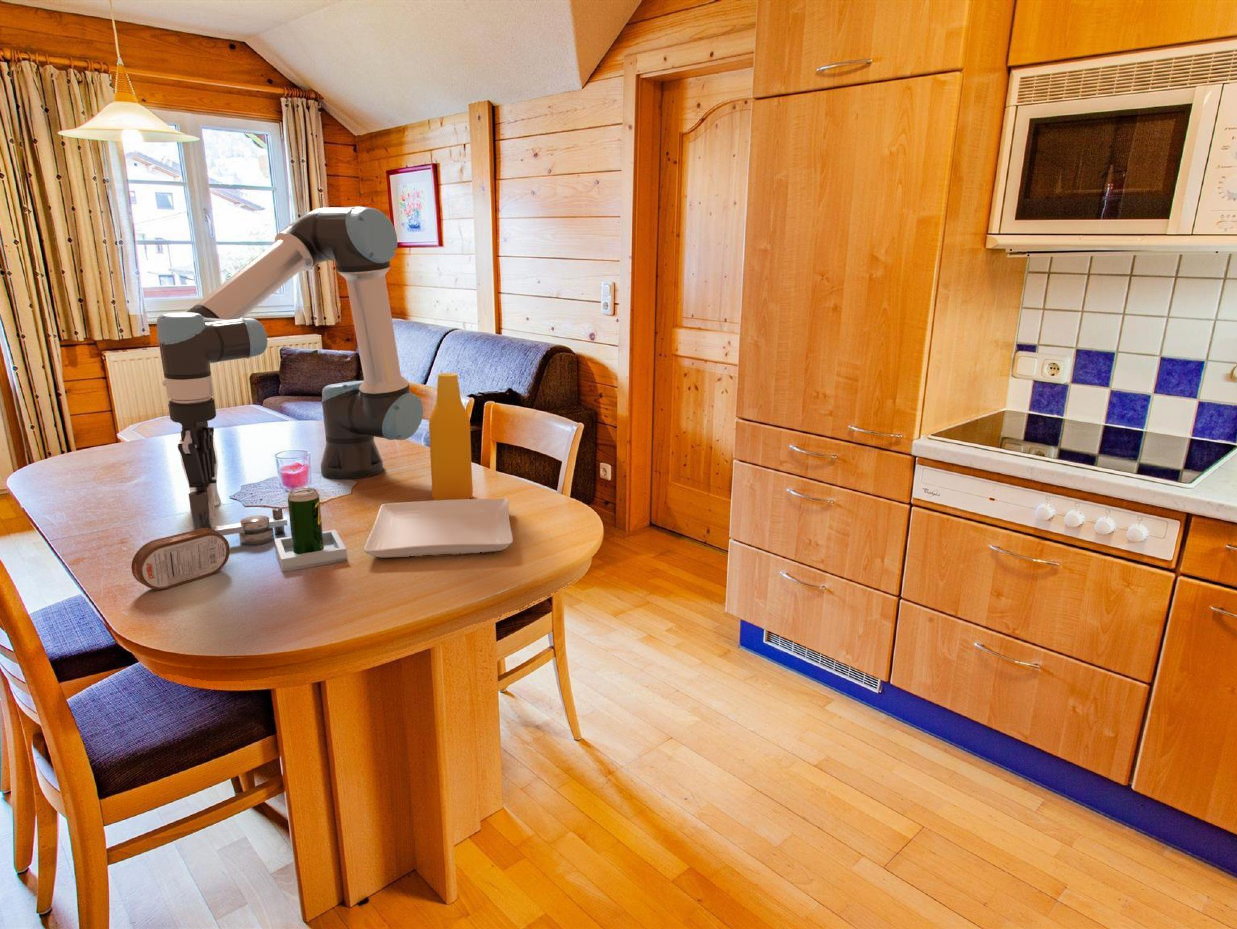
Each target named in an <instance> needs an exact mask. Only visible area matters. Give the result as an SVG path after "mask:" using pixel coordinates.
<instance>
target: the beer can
mask: <svg viewBox="0 0 1237 929" xmlns="http://www.w3.org/2000/svg"><path fill="white" fill-rule="evenodd" d="M287 505H288V517H289V526H290V535H291V536H292V546H293V552H294V554H295V555H298V554H304V553H310V552H316V551H322V550H323V549H324V543H323V525H322V524H323V523H322V512H321V502H320V494H319V493H318V489H317V488H314V487H299V488H294V489H292V490H290V491H288V496H287Z"/></svg>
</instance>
